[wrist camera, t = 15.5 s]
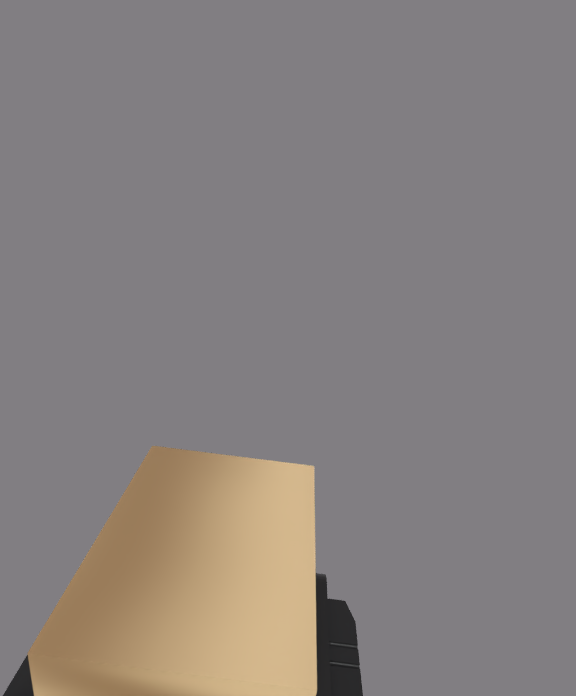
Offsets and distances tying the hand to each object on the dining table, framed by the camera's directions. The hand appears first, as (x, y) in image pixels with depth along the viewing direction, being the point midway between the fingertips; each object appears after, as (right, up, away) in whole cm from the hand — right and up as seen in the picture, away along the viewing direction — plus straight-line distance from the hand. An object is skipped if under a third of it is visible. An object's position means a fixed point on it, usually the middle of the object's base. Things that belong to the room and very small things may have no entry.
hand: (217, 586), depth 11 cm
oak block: (-1, -7, +1) cm, 7 cm away
